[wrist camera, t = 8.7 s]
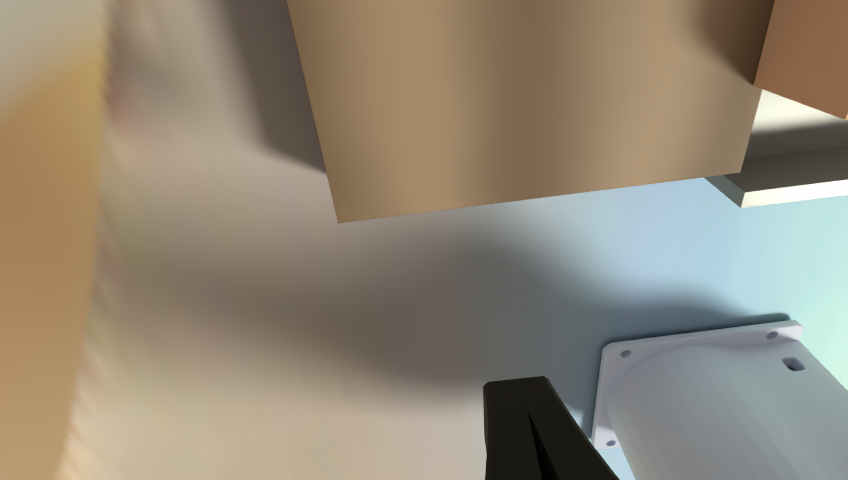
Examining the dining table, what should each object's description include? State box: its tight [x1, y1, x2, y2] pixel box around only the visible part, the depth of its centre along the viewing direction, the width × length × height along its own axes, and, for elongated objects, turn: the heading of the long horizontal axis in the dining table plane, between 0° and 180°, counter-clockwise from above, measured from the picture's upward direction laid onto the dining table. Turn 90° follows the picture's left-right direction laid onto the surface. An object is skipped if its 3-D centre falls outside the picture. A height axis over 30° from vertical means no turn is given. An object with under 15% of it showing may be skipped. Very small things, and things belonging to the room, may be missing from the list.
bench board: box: [286, 0, 775, 223], centre depth 15 cm, size 13×10×3 cm
